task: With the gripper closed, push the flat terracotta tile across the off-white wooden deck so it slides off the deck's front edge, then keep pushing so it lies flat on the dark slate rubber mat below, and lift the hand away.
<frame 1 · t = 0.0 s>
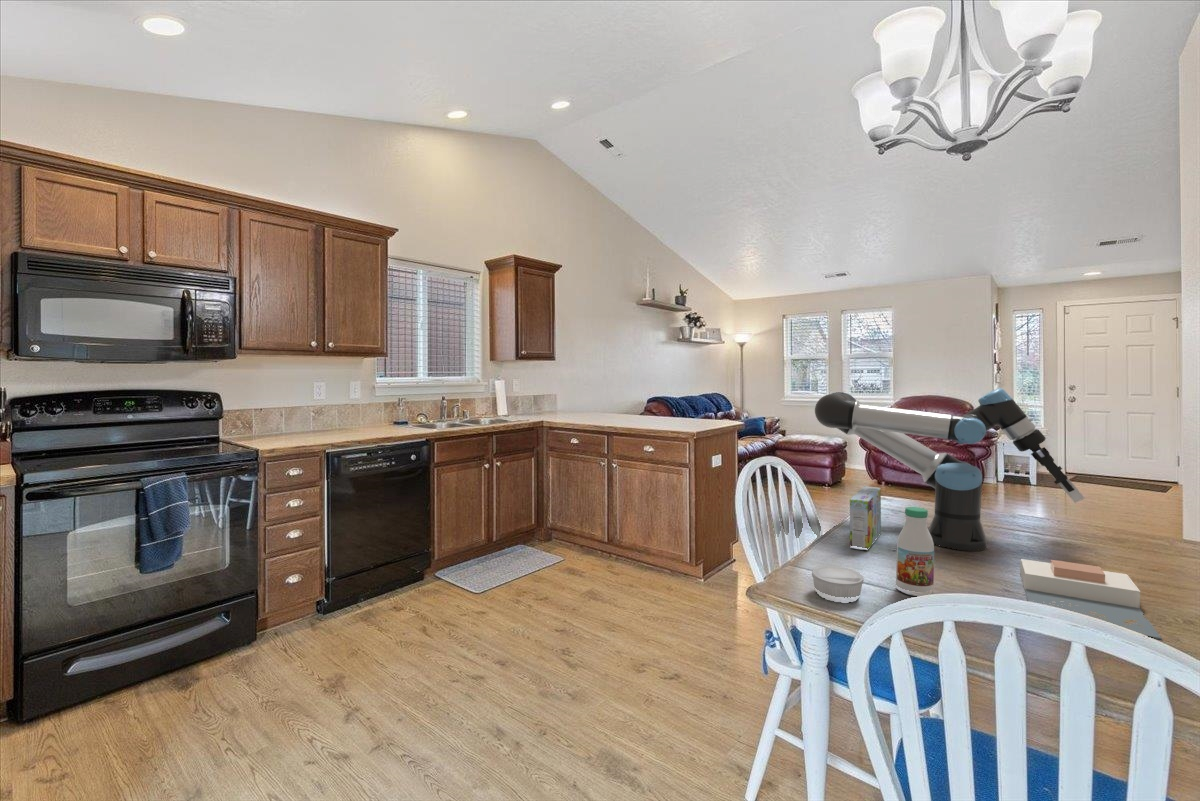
hand: (1075, 495, 162), 15 cm above the table, tool tilted 35°, fingers open, 13 cm apart
ramekin: (836, 596, 130), on the table
tile: (1076, 575, 131), point 4 cm above the table, touching deck
snack box: (865, 542, 170), on the table
milk bottle: (914, 592, 132), on the table
mat: (1086, 612, 120), on the table
deck: (1075, 590, 132), on the table
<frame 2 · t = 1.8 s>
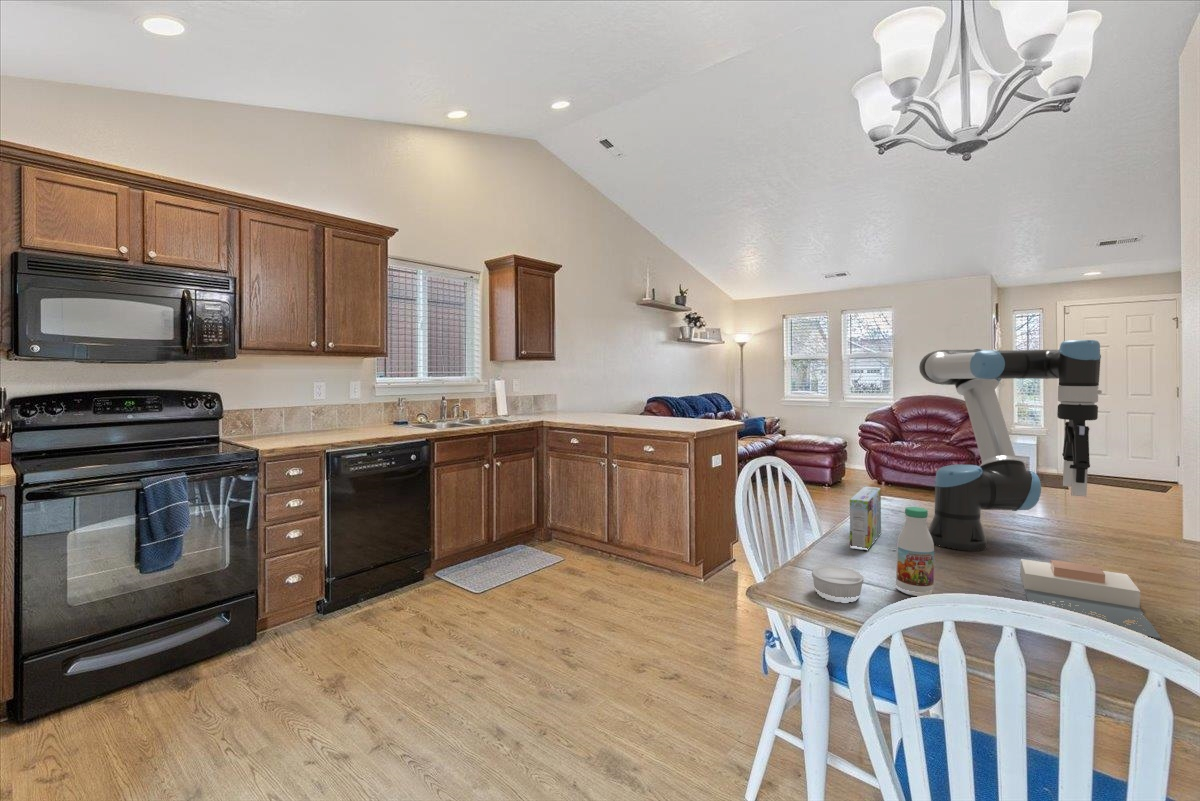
hand: (1074, 491, 137), 22 cm above the table, tool pointing down, fingers open, 12 cm apart
nothing on the table moved.
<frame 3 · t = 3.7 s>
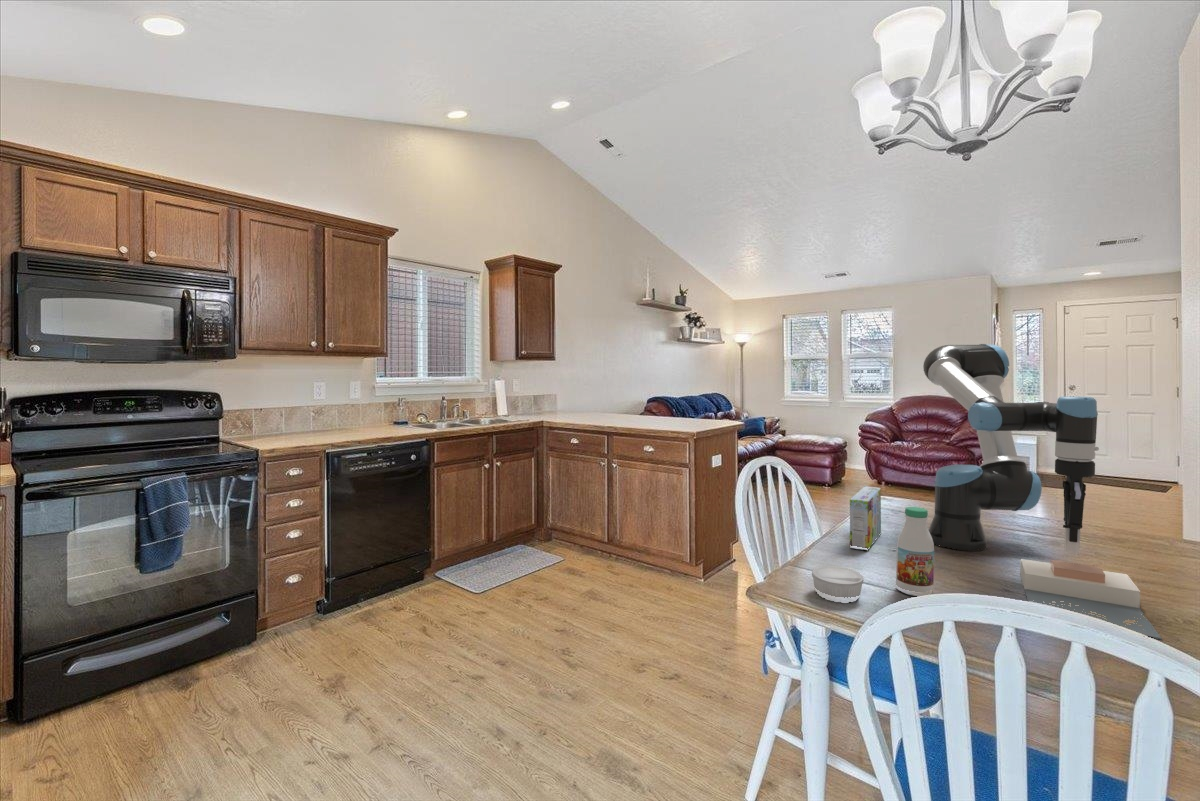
hand: (1071, 553, 138), 7 cm above the table, tool pointing down, fingers closed
nothing on the table moved.
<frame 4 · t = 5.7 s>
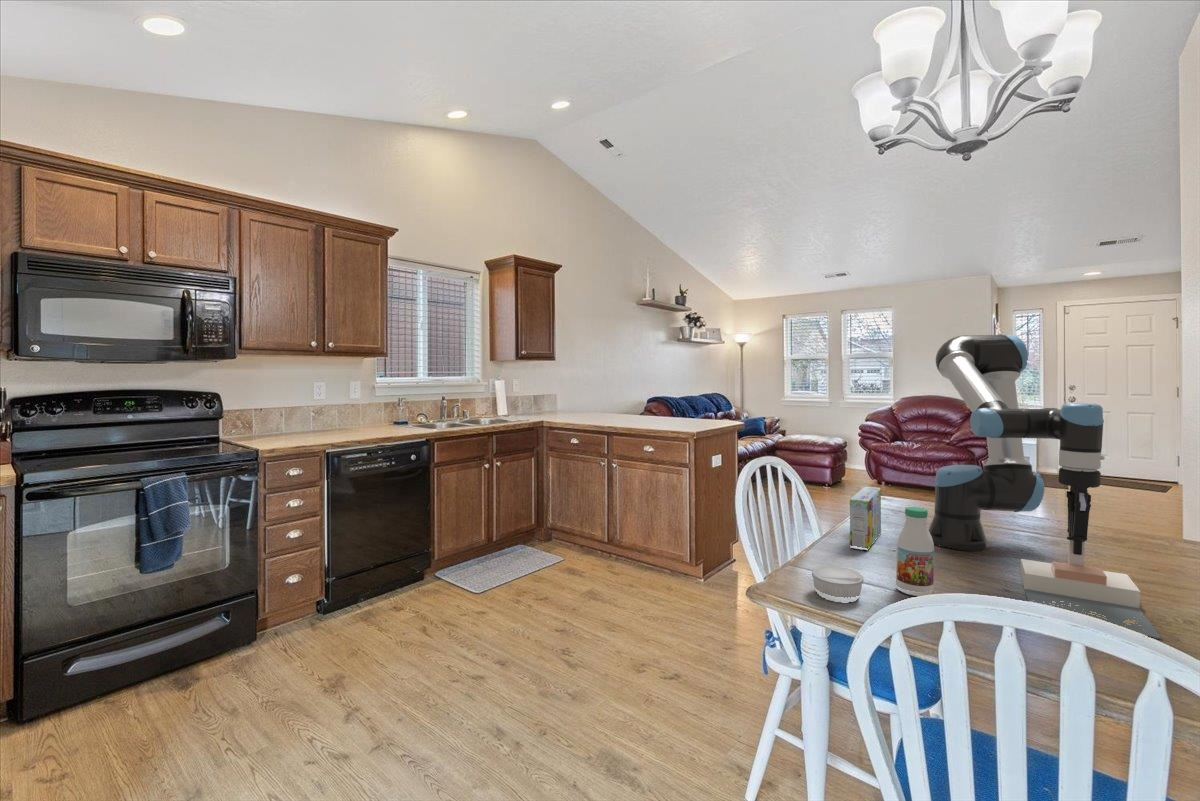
hand: (1075, 566, 132), 5 cm above the table, tool pointing down, fingers closed
tile: (1077, 577, 130), point 4 cm above the table, touching deck, gripper
everything else where it was.
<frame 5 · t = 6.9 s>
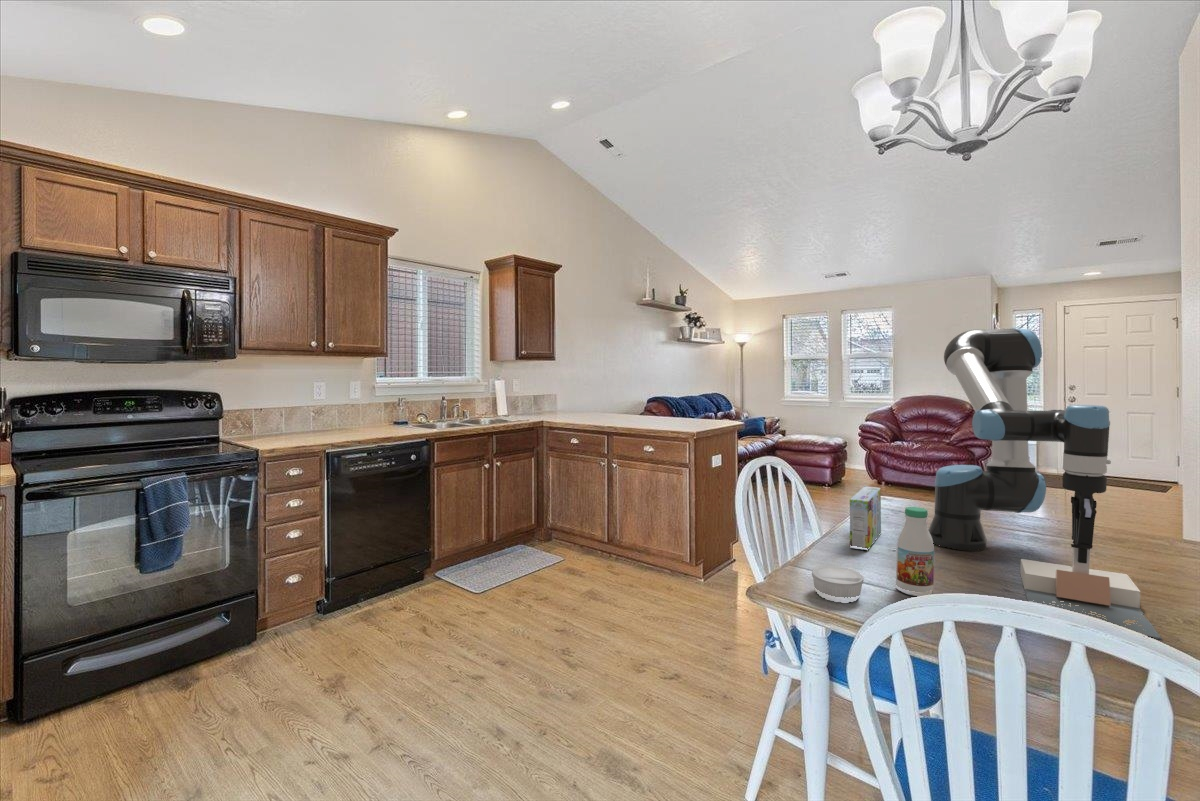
hand: (1080, 575, 127), 5 cm above the table, tool pointing down, fingers closed
tile: (1081, 588, 126), point 3 cm above the table, tilted 66°, touching mat
everything else where it was.
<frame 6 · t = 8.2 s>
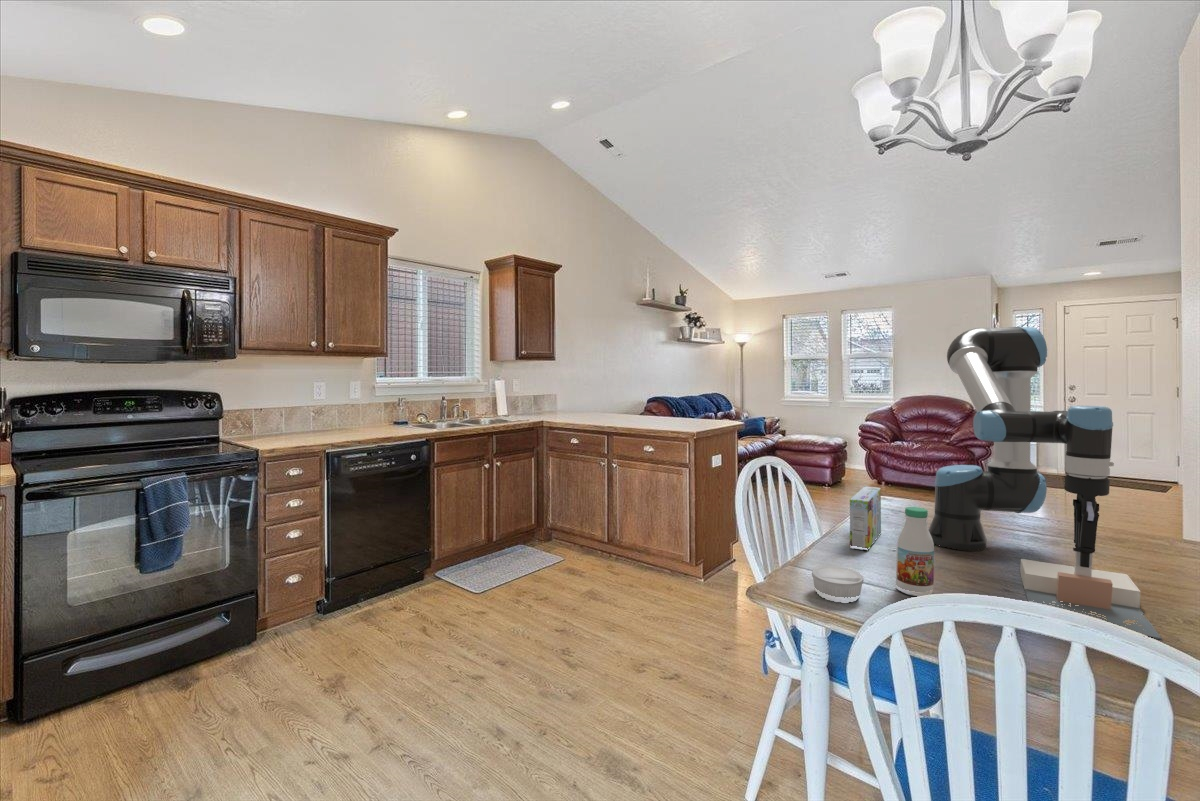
hand: (1082, 579, 125), 5 cm above the table, tool pointing down, fingers closed
tile: (1082, 588, 124), point 3 cm above the table, tilted 96°, touching gripper, mat
everything else where it was.
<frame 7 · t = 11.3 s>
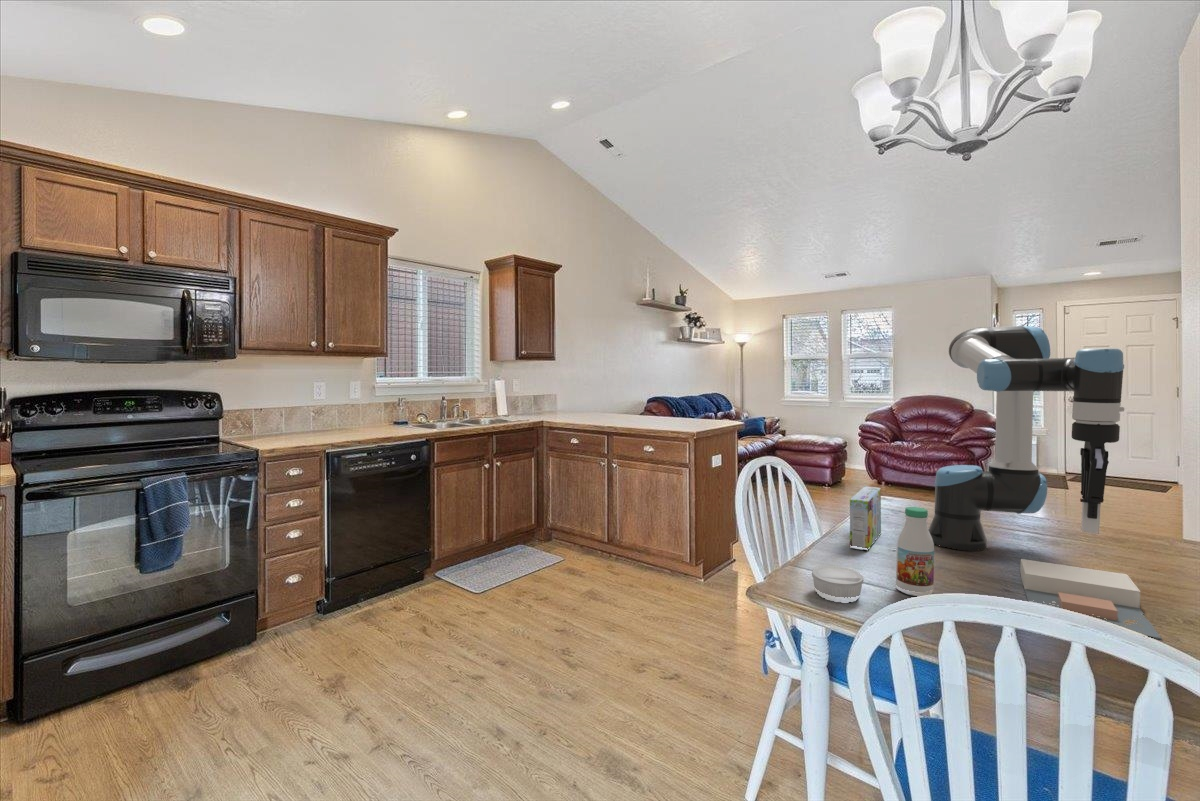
hand: (1089, 531, 118), 18 cm above the table, tool pointing down, fingers closed
tile: (1086, 601, 120), point 2 cm above the table, tilted 180°, touching mat
everything else where it was.
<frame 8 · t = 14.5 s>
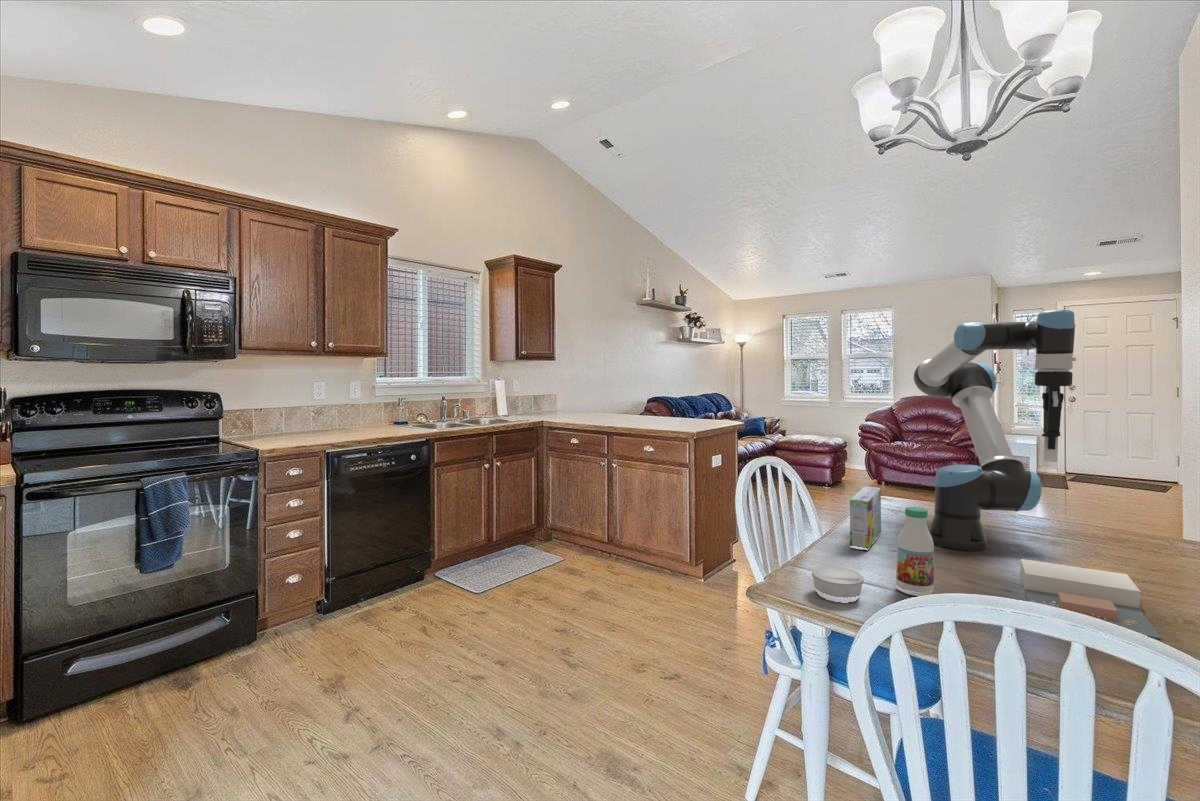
hand: (1050, 461, 145), 28 cm above the table, tool pointing down, fingers closed
nothing on the table moved.
at the end: tile inside the target area on the mat (0.5 cm from its centre), point 2.3 cm above the mat's base; tile point 2.3 cm above the table; tile touching mat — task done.
